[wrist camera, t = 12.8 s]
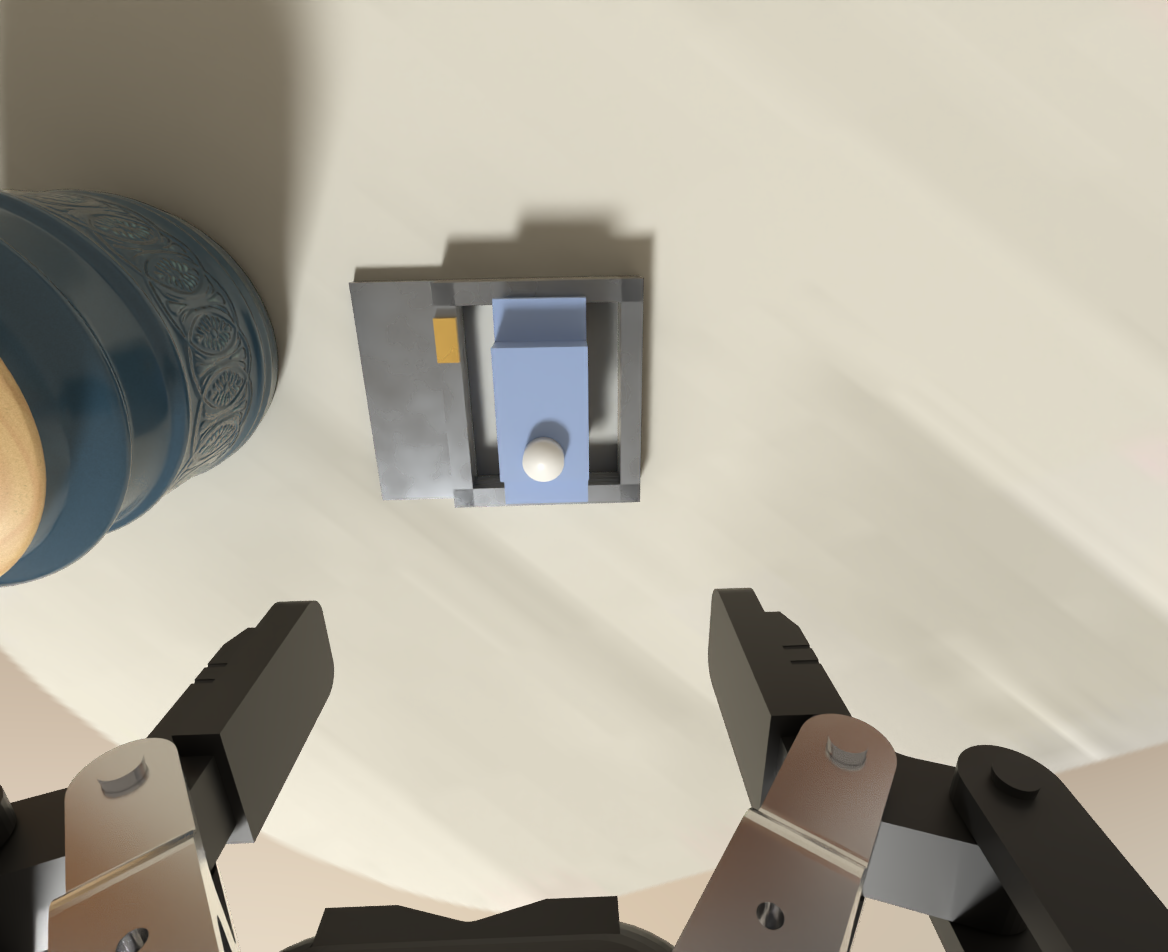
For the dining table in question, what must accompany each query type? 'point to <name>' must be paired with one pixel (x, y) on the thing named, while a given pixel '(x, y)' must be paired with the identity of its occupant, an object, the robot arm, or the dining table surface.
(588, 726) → the dining table surface
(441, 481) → the chassis plate
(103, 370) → the canister
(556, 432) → the block
